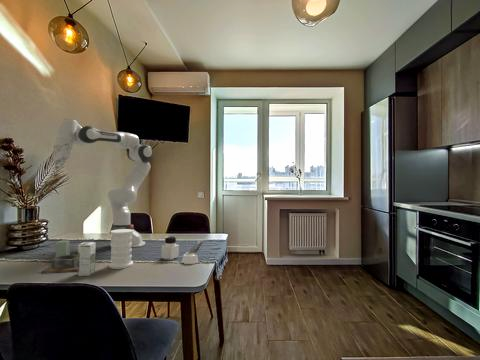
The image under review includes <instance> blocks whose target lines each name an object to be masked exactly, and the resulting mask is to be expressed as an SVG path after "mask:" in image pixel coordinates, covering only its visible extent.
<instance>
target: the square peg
mask: <svg viewBox="0 0 480 360" xmlns="http://www.w3.org/2000/svg"><path fill="white" fill-rule="evenodd" d="M70 243H71V242H70V240H69V239H68V240H67V239H66V240H64V239H63V240H59V241H56V242H55V258H57V257H58V256H60V255H71V254H70V251H71V250H70V248H71V247H70Z"/></svg>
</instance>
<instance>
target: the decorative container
mask: <svg viewBox="0 0 480 360" xmlns="http://www.w3.org/2000/svg"><path fill="white" fill-rule="evenodd" d="M109 233H110V235H111V237H110V242H111V241H112V244H111V243H110V244H111V246H110V254H111V256H110V260H111V262H109V264H108V267H109V268H110V269H113V270H114V269H115V270H121V269H127V268H131V267H133V266H134V261H133V260H132V258H133V255H132V253H133V249H132V247H131V246H132V243H131V240H132V236H131V234H132V233H133V230H131V229H117V230H112V229H111V230H110V231H109Z"/></svg>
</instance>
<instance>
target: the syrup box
mask: <svg viewBox="0 0 480 360" xmlns="http://www.w3.org/2000/svg"><path fill="white" fill-rule="evenodd" d="M96 244H97V243H96V242H94V241H84V242H82V243H79V244H78V245H77V255H78V263H77V271H76V276H77V277H86V276H88V277H89V276H91V275H93V274H94V273H95V272H96V271H95V270H96V246H97V245H96Z"/></svg>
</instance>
